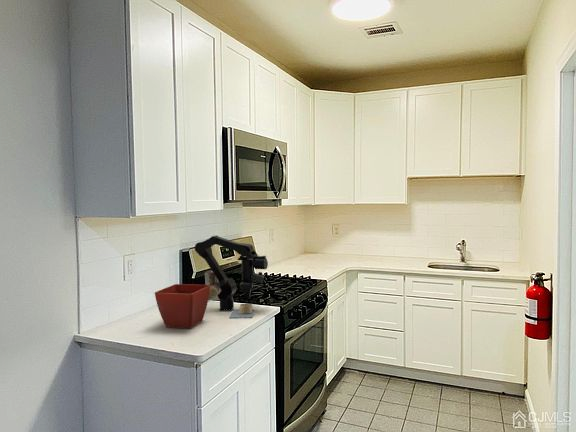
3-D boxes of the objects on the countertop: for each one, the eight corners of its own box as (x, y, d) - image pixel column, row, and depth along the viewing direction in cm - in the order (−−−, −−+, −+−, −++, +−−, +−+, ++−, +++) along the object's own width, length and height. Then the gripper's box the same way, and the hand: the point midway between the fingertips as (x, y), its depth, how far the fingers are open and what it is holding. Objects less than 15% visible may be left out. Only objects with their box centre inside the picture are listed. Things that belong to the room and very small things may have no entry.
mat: (229, 318, 204) (229, 317, 204) (232, 311, 216) (232, 310, 216) (252, 317, 204) (252, 316, 204) (254, 310, 216) (254, 309, 216)
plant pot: (176, 317, 209) (175, 283, 208) (212, 319, 204) (210, 284, 203) (155, 329, 190) (153, 292, 189) (193, 331, 185) (192, 294, 184)
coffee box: (224, 297, 245) (223, 270, 245) (221, 300, 239) (220, 272, 238) (208, 297, 246) (207, 270, 246) (205, 300, 240) (204, 272, 239)
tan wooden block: (241, 309, 217) (238, 314, 208) (240, 303, 217) (238, 308, 208) (252, 308, 217) (251, 313, 208) (252, 303, 217) (250, 308, 208)
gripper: (261, 271, 207) (262, 303, 208) (264, 265, 225) (265, 294, 226) (239, 272, 207) (240, 303, 208) (243, 265, 225) (244, 294, 226)
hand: (248, 298), depth 217 cm, fingers closed
